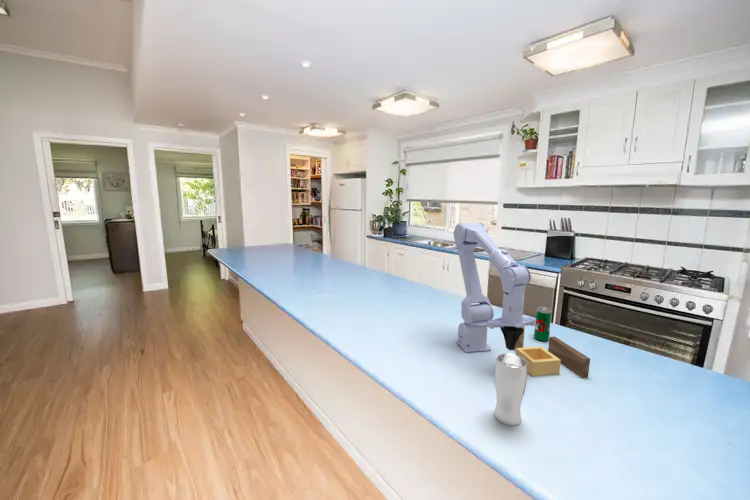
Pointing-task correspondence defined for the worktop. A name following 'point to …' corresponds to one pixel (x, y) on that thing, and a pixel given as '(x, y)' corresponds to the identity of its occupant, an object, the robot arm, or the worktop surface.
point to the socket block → (539, 361)
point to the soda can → (542, 324)
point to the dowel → (520, 340)
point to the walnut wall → (569, 357)
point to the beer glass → (510, 388)
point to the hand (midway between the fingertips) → (509, 348)
